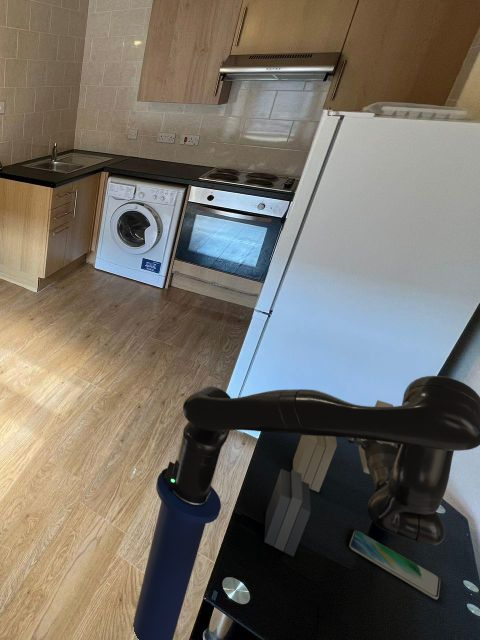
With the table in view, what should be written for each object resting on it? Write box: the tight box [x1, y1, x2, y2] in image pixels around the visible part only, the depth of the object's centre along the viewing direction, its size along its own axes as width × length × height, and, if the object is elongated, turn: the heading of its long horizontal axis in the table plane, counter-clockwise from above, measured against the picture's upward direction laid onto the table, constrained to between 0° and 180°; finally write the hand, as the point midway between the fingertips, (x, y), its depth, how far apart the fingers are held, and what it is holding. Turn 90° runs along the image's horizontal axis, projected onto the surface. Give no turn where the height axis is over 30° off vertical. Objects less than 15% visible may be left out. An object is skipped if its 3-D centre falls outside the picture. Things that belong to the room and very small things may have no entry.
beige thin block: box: [358, 399, 394, 475], centre depth 106 cm, size 3×11×16 cm, turn 142°
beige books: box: [292, 435, 338, 493], centre depth 119 cm, size 6×10×17 cm, turn 143°
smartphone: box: [348, 530, 441, 600], centre depth 97 cm, size 7×1×15 cm
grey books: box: [263, 468, 312, 557], centre depth 101 cm, size 6×10×16 cm, turn 143°
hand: (377, 428), depth 108 cm, fingers closed on beige thin block, 3 cm apart
